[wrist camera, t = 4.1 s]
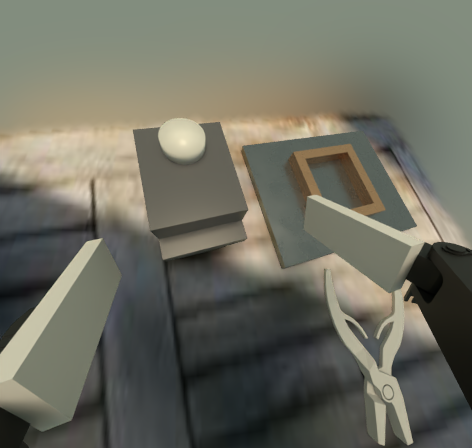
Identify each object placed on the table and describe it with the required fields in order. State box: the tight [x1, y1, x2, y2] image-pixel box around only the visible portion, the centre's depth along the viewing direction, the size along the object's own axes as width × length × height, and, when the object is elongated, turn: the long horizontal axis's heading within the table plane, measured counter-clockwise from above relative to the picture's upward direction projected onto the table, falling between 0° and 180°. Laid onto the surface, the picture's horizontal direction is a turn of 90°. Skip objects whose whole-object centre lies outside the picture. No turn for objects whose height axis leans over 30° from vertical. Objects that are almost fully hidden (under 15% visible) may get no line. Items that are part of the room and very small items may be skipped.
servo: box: [133, 118, 248, 261], centre depth 15 cm, size 5×8×12 cm, turn 16°
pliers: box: [324, 269, 413, 446], centre depth 19 cm, size 10×2×15 cm
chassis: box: [241, 131, 417, 268], centre depth 23 cm, size 20×16×2 cm
